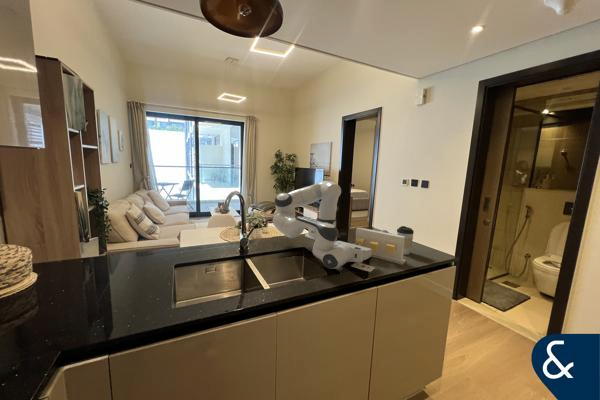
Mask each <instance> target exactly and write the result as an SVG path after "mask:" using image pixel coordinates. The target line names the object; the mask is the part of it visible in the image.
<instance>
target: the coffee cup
mask: <svg viewBox="0 0 600 400" xmlns="http://www.w3.org/2000/svg"><path fill="white" fill-rule="evenodd" d="M414 233H415V231H414V230H413V229H412V228H411V227H408V226H405V225H402V226H400V227H398V228H397V229H396V235H400V236H405V240H404V252H403V256H405V255H406V256H408V255H410V254H411V249H412V244H413V239H414Z"/></svg>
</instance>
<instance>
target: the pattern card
mask: <svg viewBox="0 0 600 400" xmlns="http://www.w3.org/2000/svg"><path fill="white" fill-rule="evenodd" d="M350 267H352V268H356V269H357V270H358V269H359V270H361V271H365V272H368V273H371V272H372V271H374V270H375V269H376V267H375V266H372V265H369V264H365V263H363V262H361V263H360V262H354V263H353V264H351V265H350ZM373 269H374V270H373Z"/></svg>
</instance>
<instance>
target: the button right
mask: <svg viewBox="0 0 600 400" xmlns="http://www.w3.org/2000/svg"><path fill="white" fill-rule="evenodd" d="M386 253H390V254H394V253H396V245H393V244H389V243H388V244H387V245H386Z"/></svg>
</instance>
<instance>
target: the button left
mask: <svg viewBox="0 0 600 400" xmlns="http://www.w3.org/2000/svg"><path fill="white" fill-rule="evenodd" d="M355 240H356V241H355V243H356V244H360V245H361V246H362V247H365V242H366V239H360V238H358V239H356V238H355ZM355 243H354V244H355Z"/></svg>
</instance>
